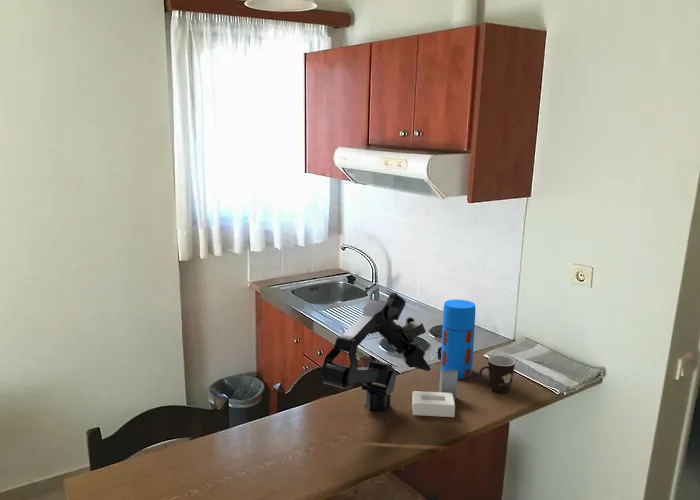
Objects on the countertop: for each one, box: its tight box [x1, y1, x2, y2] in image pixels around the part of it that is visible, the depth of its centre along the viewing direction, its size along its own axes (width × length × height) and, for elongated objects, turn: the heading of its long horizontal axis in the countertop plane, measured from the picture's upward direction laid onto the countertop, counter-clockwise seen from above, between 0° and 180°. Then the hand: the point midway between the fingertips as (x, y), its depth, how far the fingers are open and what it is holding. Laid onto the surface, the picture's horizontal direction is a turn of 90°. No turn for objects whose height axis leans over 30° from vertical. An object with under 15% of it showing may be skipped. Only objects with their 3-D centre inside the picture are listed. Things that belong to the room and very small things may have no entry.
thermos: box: [440, 299, 476, 379], centre depth 195 cm, size 11×11×25 cm
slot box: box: [411, 390, 456, 418], centre depth 168 cm, size 12×8×4 cm, turn 86°
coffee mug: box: [479, 355, 516, 395], centre depth 183 cm, size 12×9×10 cm
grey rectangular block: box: [438, 369, 458, 400], centre depth 175 cm, size 5×2×10 cm, turn 102°
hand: (424, 363), depth 173 cm, fingers open, 9 cm apart
